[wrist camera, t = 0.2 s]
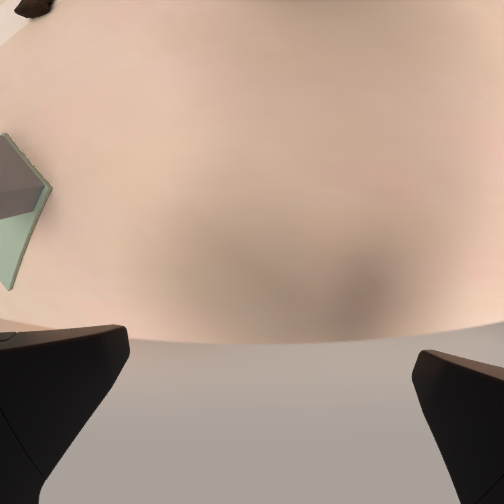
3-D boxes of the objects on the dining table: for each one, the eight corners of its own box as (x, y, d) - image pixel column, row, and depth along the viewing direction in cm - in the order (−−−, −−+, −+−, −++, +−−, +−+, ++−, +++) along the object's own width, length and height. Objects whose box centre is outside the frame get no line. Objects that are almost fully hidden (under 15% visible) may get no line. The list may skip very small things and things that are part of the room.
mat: (6, 133, 22) (2, 133, 21) (52, 188, 23) (48, 188, 22) (-28, 233, 25) (-32, 234, 25) (11, 289, 26) (8, 291, 26)
